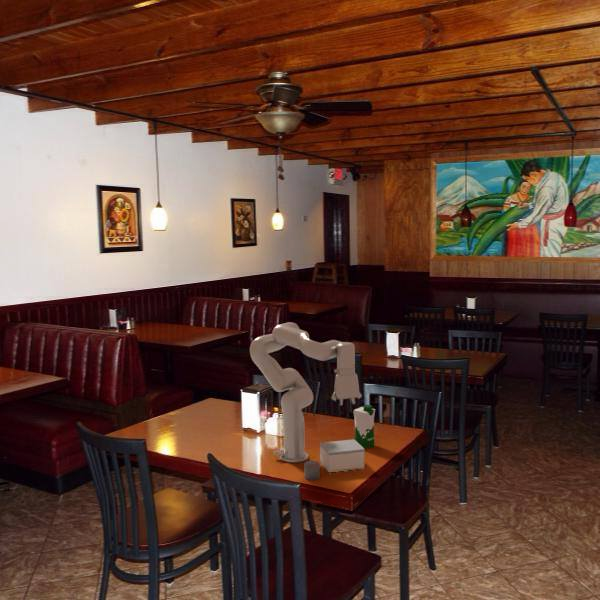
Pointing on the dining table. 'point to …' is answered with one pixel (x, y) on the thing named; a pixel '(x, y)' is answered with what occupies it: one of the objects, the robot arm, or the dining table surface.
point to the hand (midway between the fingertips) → (346, 412)
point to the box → (342, 461)
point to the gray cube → (311, 470)
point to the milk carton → (364, 426)
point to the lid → (341, 447)
